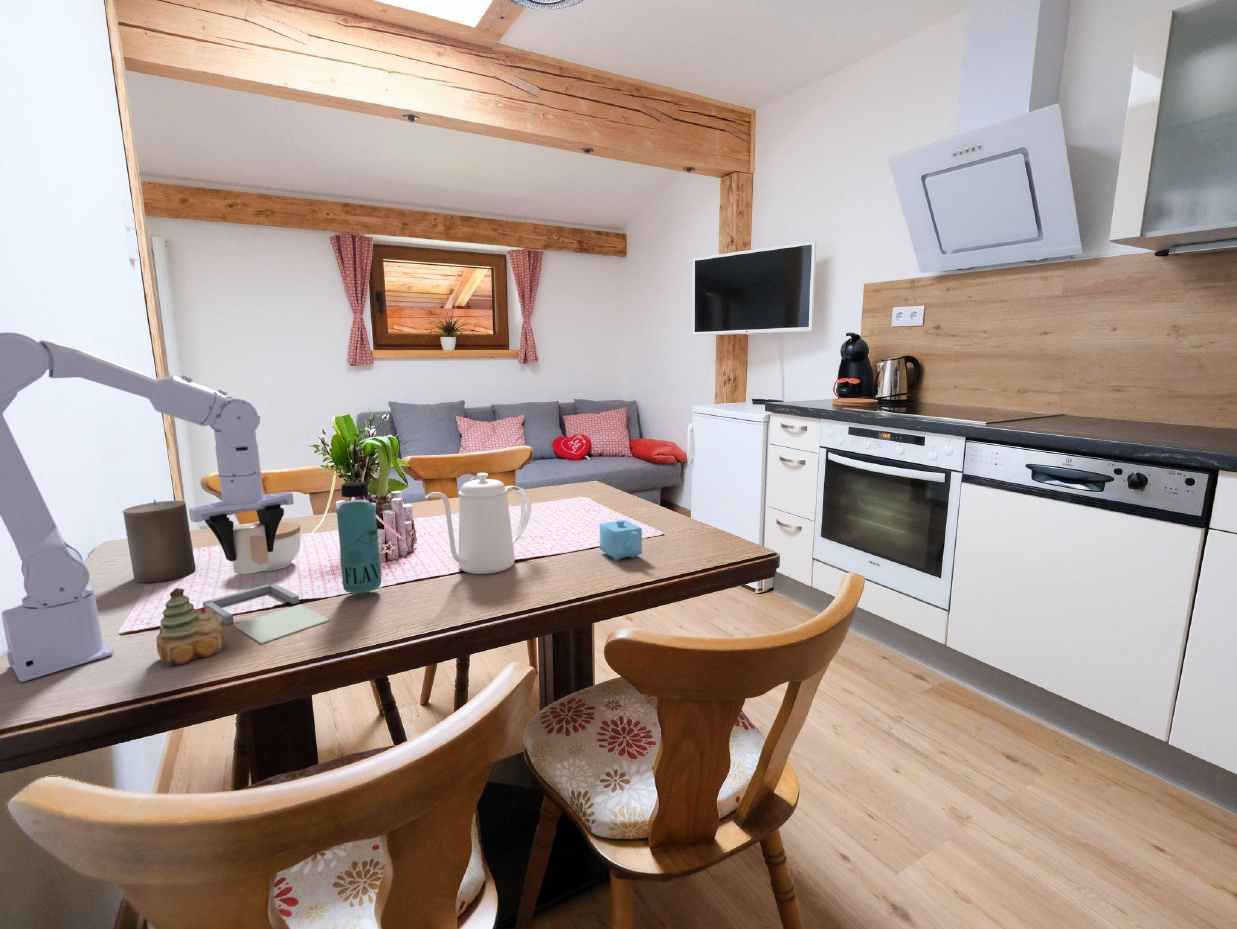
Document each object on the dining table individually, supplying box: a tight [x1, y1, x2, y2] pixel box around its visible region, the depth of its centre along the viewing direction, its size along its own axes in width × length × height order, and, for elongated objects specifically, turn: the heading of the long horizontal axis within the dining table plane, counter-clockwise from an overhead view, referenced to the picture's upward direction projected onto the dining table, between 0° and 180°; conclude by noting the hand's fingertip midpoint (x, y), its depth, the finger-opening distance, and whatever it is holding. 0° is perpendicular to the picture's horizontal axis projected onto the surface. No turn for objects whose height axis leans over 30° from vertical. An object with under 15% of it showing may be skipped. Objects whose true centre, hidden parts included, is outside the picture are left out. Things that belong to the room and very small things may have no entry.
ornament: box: [156, 587, 226, 667], centre depth 84 cm, size 8×6×10 cm
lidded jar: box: [261, 521, 302, 572], centre depth 120 cm, size 11×11×9 cm
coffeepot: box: [424, 472, 532, 575], centre depth 117 cm, size 11×25×19 cm, turn 143°
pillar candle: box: [122, 499, 196, 584], centre depth 116 cm, size 10×10×15 cm
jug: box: [232, 522, 269, 575], centre depth 97 cm, size 8×5×7 cm, turn 52°
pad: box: [233, 603, 330, 645], centre depth 94 cm, size 10×10×1 cm
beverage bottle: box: [335, 481, 383, 594], centre depth 104 cm, size 6×7×20 cm
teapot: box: [599, 519, 643, 562], centre depth 123 cm, size 12×6×8 cm, turn 27°
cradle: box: [202, 582, 300, 626], centre depth 101 cm, size 11×10×1 cm
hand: (250, 555), depth 99 cm, fingers closed on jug, 5 cm apart
